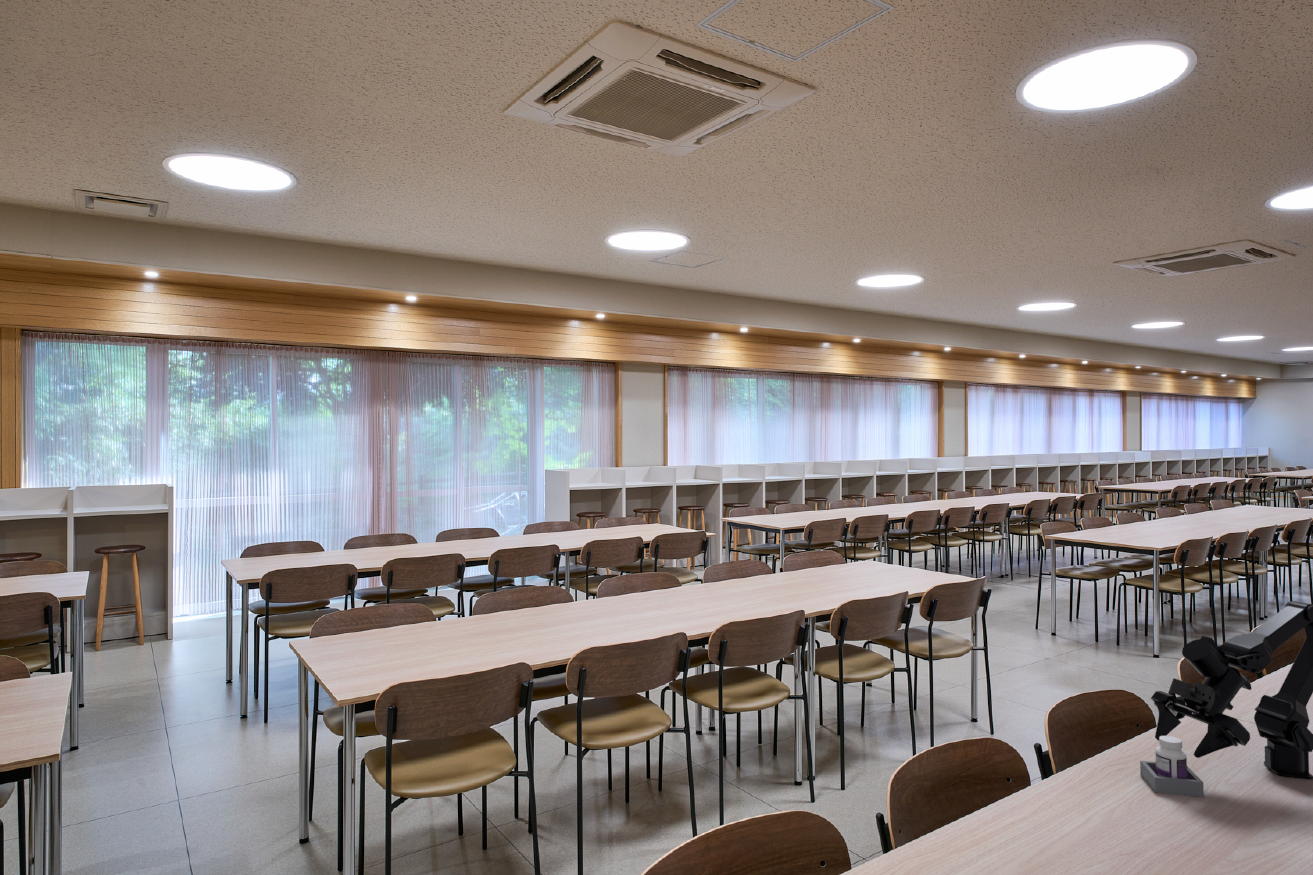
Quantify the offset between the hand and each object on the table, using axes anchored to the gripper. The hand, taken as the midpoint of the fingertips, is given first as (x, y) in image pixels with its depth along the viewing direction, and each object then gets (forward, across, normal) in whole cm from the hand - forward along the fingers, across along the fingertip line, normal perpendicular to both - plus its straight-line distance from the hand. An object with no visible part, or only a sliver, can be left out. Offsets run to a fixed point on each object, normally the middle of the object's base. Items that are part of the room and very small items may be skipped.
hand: (1175, 747), depth 155 cm
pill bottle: (+7, 0, +5) cm, 8 cm away
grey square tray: (+6, 0, +4) cm, 8 cm away
